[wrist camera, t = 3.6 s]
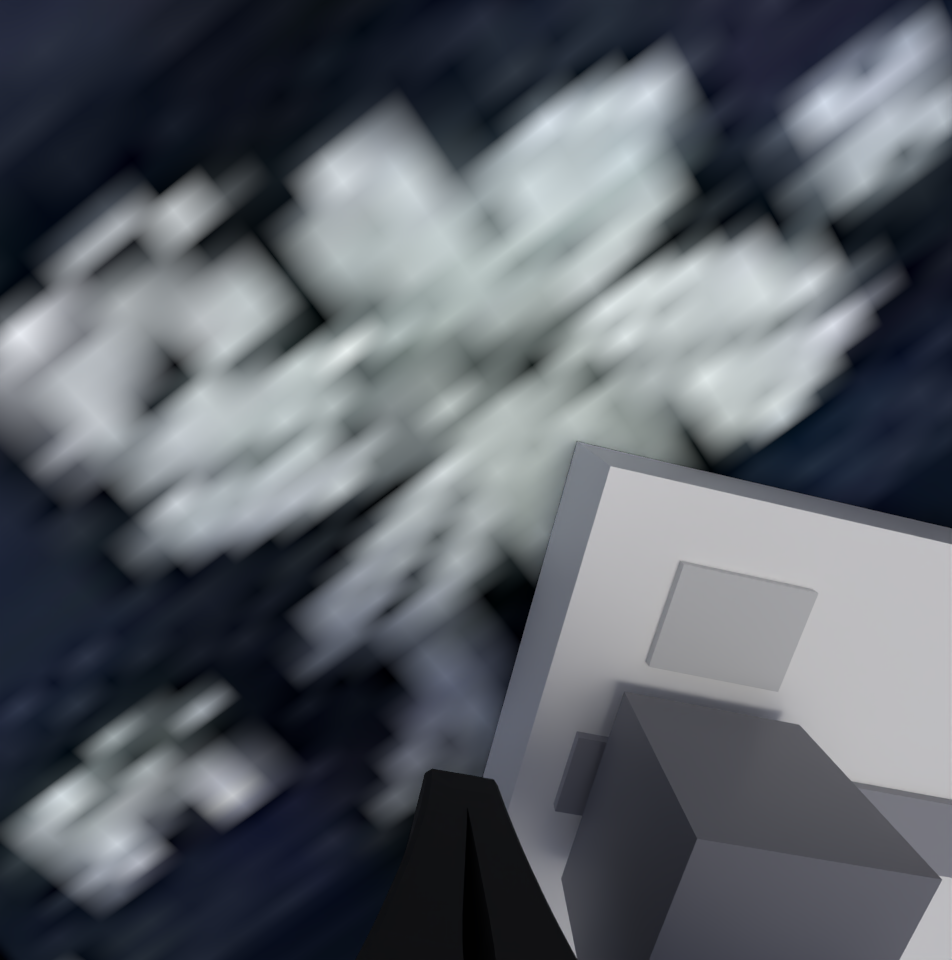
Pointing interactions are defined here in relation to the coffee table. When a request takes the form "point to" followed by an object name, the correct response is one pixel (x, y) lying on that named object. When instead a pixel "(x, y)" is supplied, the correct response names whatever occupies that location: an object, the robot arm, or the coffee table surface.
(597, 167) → the coffee table surface
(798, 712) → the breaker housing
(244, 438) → the coffee table surface
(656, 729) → the switch lever
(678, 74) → the coffee table surface
